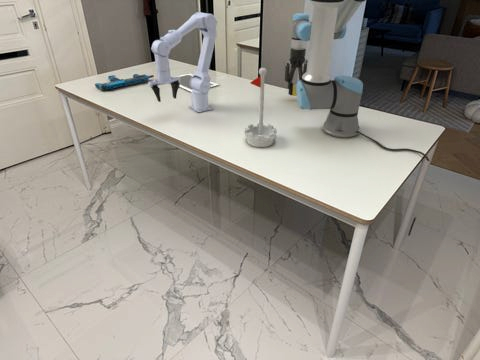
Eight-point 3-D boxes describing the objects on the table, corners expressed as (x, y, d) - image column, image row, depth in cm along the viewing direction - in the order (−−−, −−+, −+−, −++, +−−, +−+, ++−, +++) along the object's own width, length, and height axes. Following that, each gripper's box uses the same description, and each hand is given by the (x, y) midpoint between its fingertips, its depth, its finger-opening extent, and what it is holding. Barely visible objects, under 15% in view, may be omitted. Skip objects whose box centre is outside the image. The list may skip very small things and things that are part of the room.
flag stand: (267, 132, 148) (271, 61, 132) (281, 144, 138) (286, 70, 122) (240, 137, 144) (240, 65, 128) (252, 150, 134) (253, 74, 118)
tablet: (162, 79, 213) (162, 79, 213) (189, 73, 224) (189, 73, 224) (191, 92, 193) (191, 91, 192) (219, 85, 204) (219, 84, 203)
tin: (289, 93, 182) (289, 85, 180) (296, 92, 183) (297, 84, 181) (292, 96, 179) (293, 87, 176) (299, 95, 180) (300, 87, 177)
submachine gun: (139, 68, 225) (158, 74, 208) (140, 74, 226) (158, 80, 210) (87, 78, 206) (103, 86, 189) (89, 84, 208) (104, 92, 191)
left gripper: (150, 74, 143) (155, 105, 150) (182, 69, 150) (185, 99, 157) (144, 70, 148) (149, 100, 155) (175, 65, 155) (178, 94, 162)
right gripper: (309, 45, 174) (304, 90, 187) (279, 48, 169) (276, 93, 181) (317, 48, 168) (312, 94, 181) (286, 51, 163) (283, 98, 175)
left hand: (167, 99), depth 156 cm, fingers open, 7 cm apart
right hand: (294, 93), depth 181 cm, fingers closed on tin, 4 cm apart
